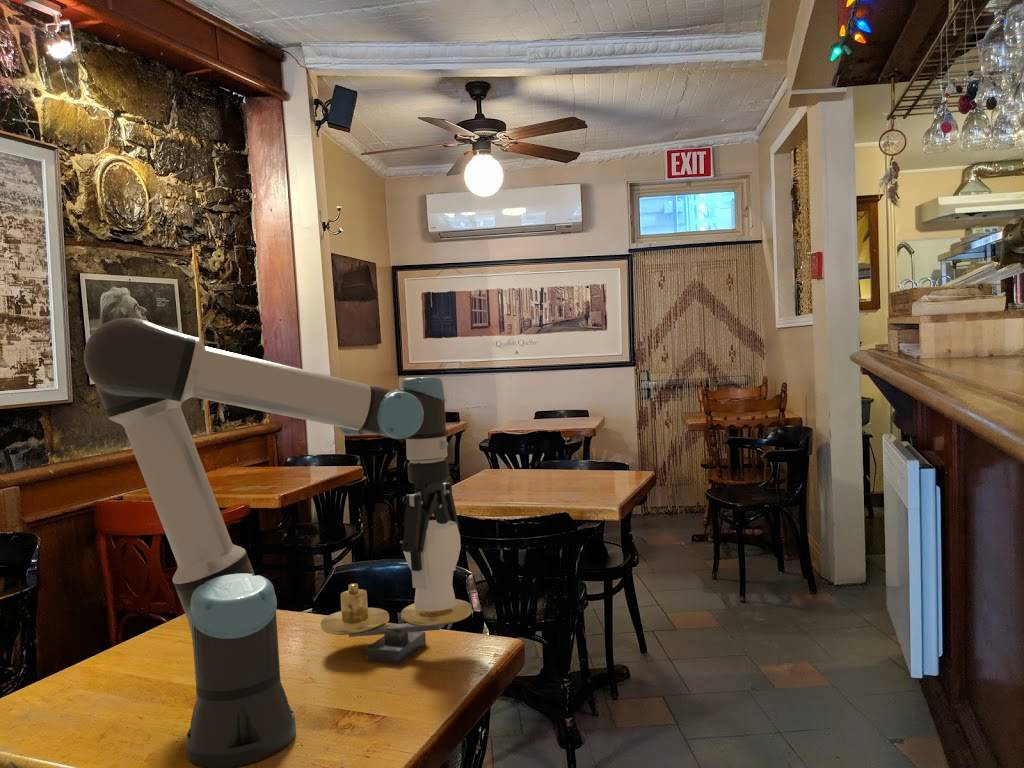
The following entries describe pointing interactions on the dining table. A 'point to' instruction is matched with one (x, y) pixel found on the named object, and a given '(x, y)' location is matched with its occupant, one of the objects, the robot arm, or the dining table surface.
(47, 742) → the dining table surface
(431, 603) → the cup
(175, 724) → the dining table surface
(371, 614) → the balance
